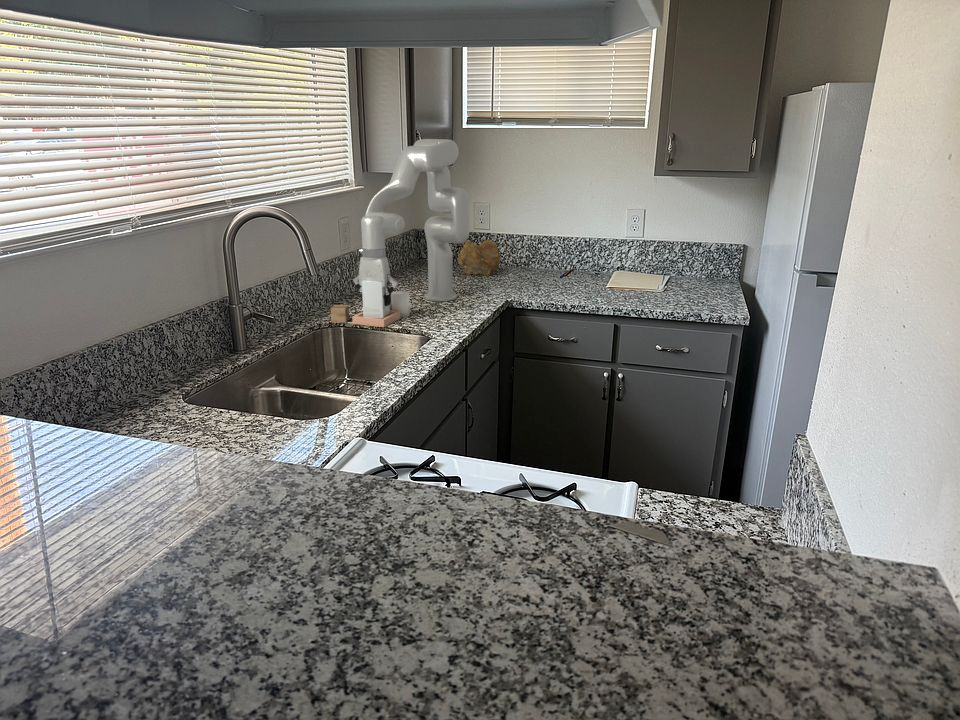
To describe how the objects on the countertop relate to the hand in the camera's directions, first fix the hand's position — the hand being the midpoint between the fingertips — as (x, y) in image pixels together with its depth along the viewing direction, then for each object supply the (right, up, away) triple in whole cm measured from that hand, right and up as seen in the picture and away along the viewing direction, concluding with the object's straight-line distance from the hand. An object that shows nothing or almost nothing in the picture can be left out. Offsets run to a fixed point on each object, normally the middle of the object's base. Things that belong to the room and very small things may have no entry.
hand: (376, 303), depth 238 cm
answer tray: (0, -6, +2) cm, 6 cm away
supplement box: (0, -4, +1) cm, 4 cm away
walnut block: (-13, -6, +2) cm, 14 cm away
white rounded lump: (+7, -3, +10) cm, 13 cm away
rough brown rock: (+37, +20, +80) cm, 90 cm away
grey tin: (+1, -1, +17) cm, 17 cm away
